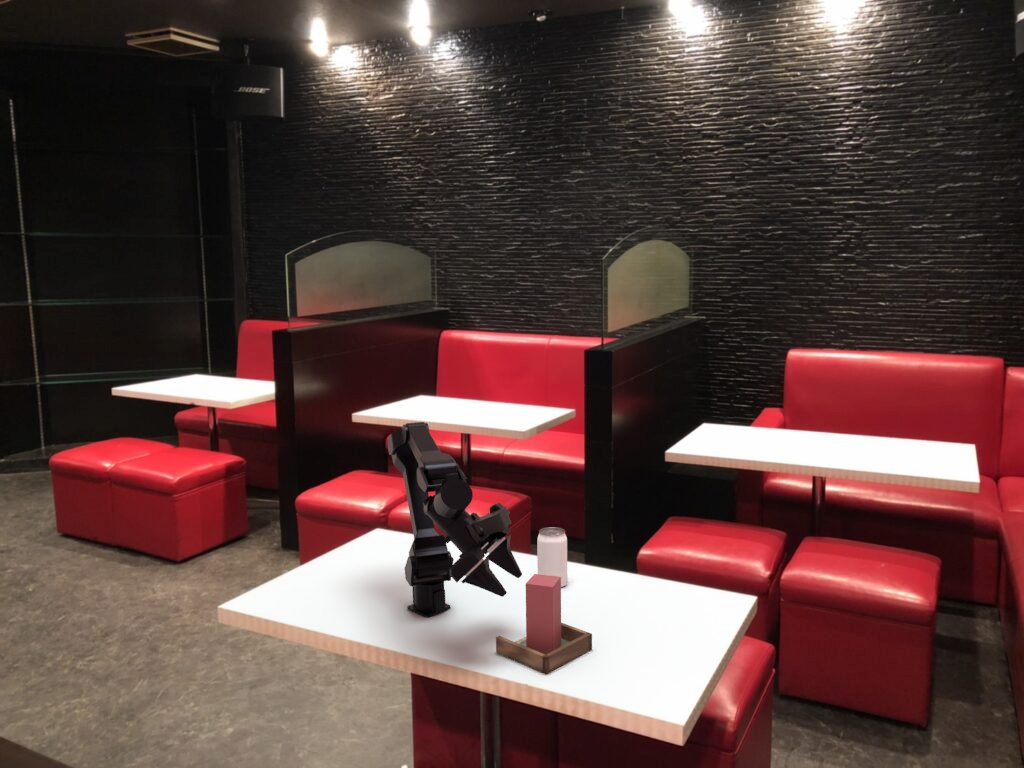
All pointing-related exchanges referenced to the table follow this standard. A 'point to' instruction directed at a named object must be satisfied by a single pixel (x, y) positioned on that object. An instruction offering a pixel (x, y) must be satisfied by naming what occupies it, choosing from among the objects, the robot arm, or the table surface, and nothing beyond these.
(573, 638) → the box
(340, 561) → the table surface
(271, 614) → the table surface
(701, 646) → the table surface
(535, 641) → the post
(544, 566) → the can
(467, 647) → the table surface
